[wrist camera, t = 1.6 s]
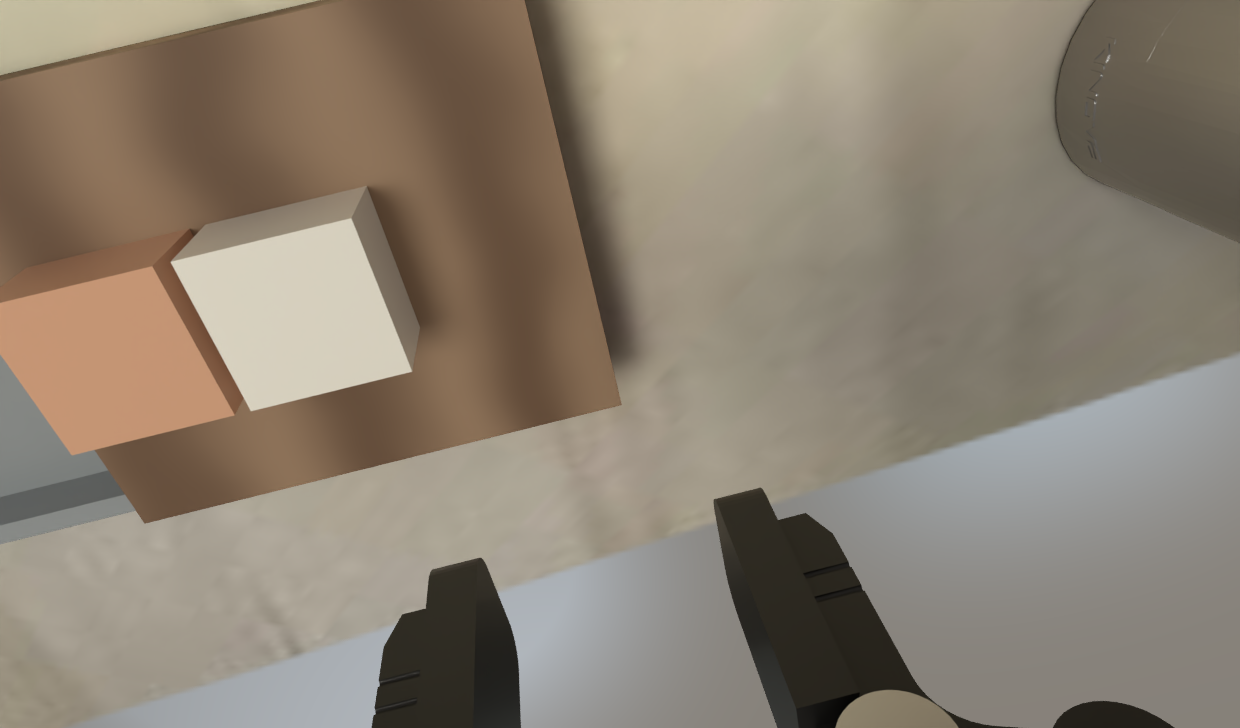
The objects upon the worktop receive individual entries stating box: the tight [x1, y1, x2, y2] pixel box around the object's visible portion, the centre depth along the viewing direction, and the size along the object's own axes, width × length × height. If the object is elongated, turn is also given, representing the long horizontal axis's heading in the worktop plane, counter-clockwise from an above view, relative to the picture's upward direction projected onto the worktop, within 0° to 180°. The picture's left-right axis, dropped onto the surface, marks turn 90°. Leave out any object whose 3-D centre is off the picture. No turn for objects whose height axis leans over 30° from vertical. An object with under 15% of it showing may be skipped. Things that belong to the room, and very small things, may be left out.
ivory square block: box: [171, 186, 420, 411], centre depth 24 cm, size 5×5×3 cm
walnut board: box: [0, 0, 622, 523], centre depth 27 cm, size 18×15×4 cm
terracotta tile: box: [0, 229, 244, 455], centre depth 24 cm, size 5×5×3 cm
